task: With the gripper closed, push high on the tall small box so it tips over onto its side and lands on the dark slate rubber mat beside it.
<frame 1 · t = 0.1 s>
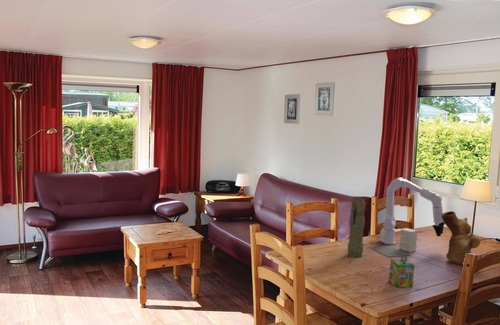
hand: (439, 234, 291), 11 cm above the table, tool pointing down, fingers open, 7 cm apart
ceramic vessel: (457, 262, 271), on the table
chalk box: (400, 284, 232), on the table
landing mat: (389, 251, 288), on the table
small box: (407, 250, 292), on the table
olive green carved pillar: (354, 255, 277), on the table
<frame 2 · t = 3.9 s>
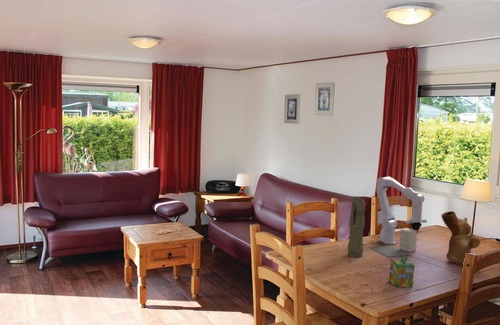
hand: (415, 234, 293), 10 cm above the table, tool pointing down, fingers closed
small box: (407, 250, 292), on the table, touching gripper
everything else where it was.
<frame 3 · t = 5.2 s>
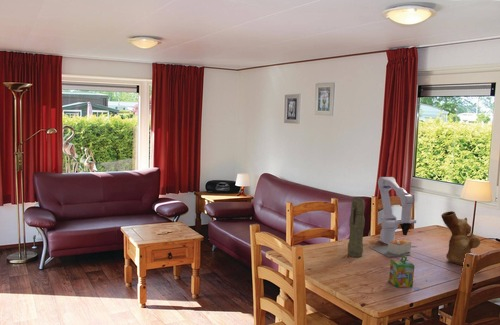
hand: (404, 234, 290), 10 cm above the table, tool pointing down, fingers closed
small box: (405, 245, 290), point 3 cm above the table, touching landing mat
everything else where it was.
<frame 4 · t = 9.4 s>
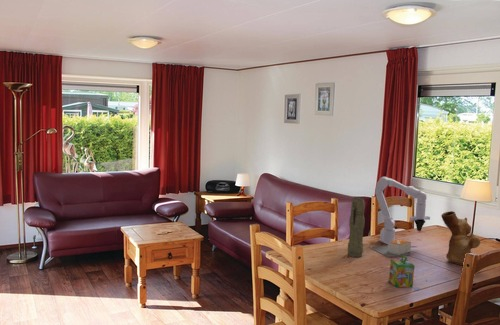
hand: (418, 230, 300), 10 cm above the table, tool pointing down, fingers closed
nothing on the table moved.
at the end: small box tilted 90°; small box touching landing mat; small box inside the target area (6.8 cm from its centre), point 3.5 cm above the table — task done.
